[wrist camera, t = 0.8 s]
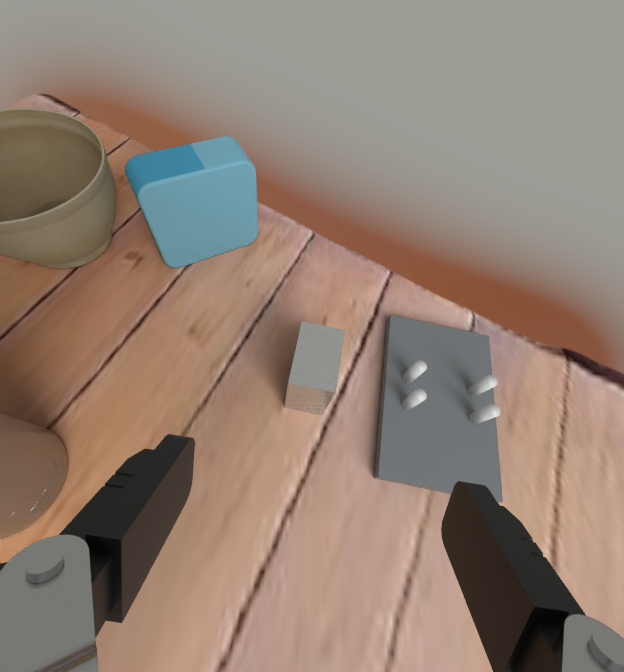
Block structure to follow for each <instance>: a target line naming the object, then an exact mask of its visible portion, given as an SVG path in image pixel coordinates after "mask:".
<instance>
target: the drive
mask: <svg viewBox="0 0 624 672" xmlns="http://www.w3.org/2000/svg"><path fill="white" fill-rule="evenodd" d="M344 332H345V330H341V329H337V328H332V327H327V326H323V325H318V324H313V323H308V322H304V321H302V323H301V327H300V332H299V336H298V340H297V345H296V349H295V354H294V358H293V363H292V367H291V372H290V376H289V381H288V387H287V394H286V400H285V407H284V408H288V409H293V410H298V411H303V412H308V413H312V414H317V415H323V413H324V411H325V410H326V408H327V406H328V404H329V403H330V401H331V399H332V398H333V396H334V394H335V393H336V386H337V379H338V373H339V366H340V359H341V352H342V346H343V339H344Z"/></svg>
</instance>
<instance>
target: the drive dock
mask: <svg viewBox="0 0 624 672" xmlns="http://www.w3.org/2000/svg"><path fill="white" fill-rule="evenodd" d="M496 385H497V379H496V378H495V377H494V376H492V368H491V356H490V344H489V336H487V335H482V334H477V333H473V332H468V331H463V330H459V329H454V328H449V327H445V326H440V325H435V324H430V323H426V322H421V321H416V320H412V319H407V318H402V317H398V316H393V315H391V316H390V317H389V319H388V320H387V326H386V338H385V350H384V363H383V375H382V387H381V399H380V412H379V424H378V436H377V448H376V461H375V473H374V478H376V479H381V480H386V481H391V482H396V483H401V484H406V485H410V486H415V487H420V488H425V489H430V490H435V491H440V492H445V493H450V494H452V491H453V488H454V485H455V483H456V482H458V481H462V482H468V483H475V484H481V485H485V486H486V487H487V488H488V489H489V490H490V492H491V493H492V495H493V496H494V498H495V499H496V501H497V502H503V499H502V487H501V475H500V463H499V451H498V439H497V428H496V417H497V416H499V415H500V409H499V407H498V406H497V405H495V404H494V392H493V387H495V386H496Z"/></svg>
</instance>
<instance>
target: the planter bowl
mask: <svg viewBox="0 0 624 672" xmlns="http://www.w3.org/2000/svg"><path fill="white" fill-rule="evenodd" d="M115 214H116V188H115V183H114V179H113V175H112V172H111V169H110V166H109V163H108V161H107V156H106V152H105V149H104V146H103V144H102V142H101V140H100V138H99V136H98V135H97V134H96V132H95V131H94V130H93V129H92V128H91V127H89V126H88V125H87V124H85V123H84V122H82V121H81V120H79V119H77V118H75V117H72V116H70V115H67V114H64V113H61V112H57V111H51V110H45V109H36V108H8V109H0V254H1V255H4V256H7V257H11V258H15V259H19V260H23V261H28V262H35V263H38V264H40V265H42V266H45V267H49V268H55V269H66V268H73V267H78V266H81V265H84V264H87V263H89V262H91V261H93V260H94V259H96V258H97V257H98V256H100V255H101V254H102V253H103V252H104V251H105V250H106V248H107V247H108V245H109V243H110V241H111V238H112V226H113V223H114V219H115Z"/></svg>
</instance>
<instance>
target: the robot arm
mask: <svg viewBox="0 0 624 672" xmlns="http://www.w3.org/2000/svg"><path fill="white" fill-rule="evenodd" d="M194 447H195V441H194V438H190V437H184V436H177V435H171V434H168V435H166V436H165V437H164V439H163V440H162V441H161V442H160V444H159V445H158V446H157V447H156V449H155V450H150V449H144V450H142V451H140V452H138V453H137V454H135V455H133V456H132V457H130V458H128V459H127V460H126V461H125V462H124V464H123V465H122V466H121V467H120V468H119V469H118V470H117V471H116V473H115V475H113V476H112V477H111V478H110V479H109V480H108V481H107V482H106V483H105V486H104V487H102V488H101V489H100V490H99V491H98V492H97V493H96V494H95V496H94V497H93V498H92V499H91V500H90V501H89V502H88V503H87V504H86V505H85V507H84V508H83V509H82V510H81V511H80V512H79V513H78V514H77V515H76V517H75V518H74V519H73V520H72V521H71V522H70V523H69V524H68V525H67V526H66V528H65V529H64V530H63V531H62V532H61V533H60V534H59V535H57V536H52V537H48V538H45V539H42V540H39V541H37V542H35V543H33V544H31V545H29V546H28V547H26V548H24V549H23V550H21V551H20V552H18V553H17V554H16V555H15V556H14V557H12V558H11V559H10V560H9V561H8V562H6V563H1V564H0V672H98V659H97V648H96V642H95V638H96V636H97V635H98V633H99V631H100V629H101V628H102V626H103V624H104V622H105V621H112V622H119V623H122V622H123V620H124V618H125V616H126V614H127V613H128V611H129V609H130V607H131V605H132V603H133V601H134V599H135V598H136V596H137V594H138V592H139V590H140V588H141V586H142V584H143V582H144V581H145V579H146V577H147V575H148V573H149V571H150V569H151V567H152V566H153V564H154V562H155V560H156V558H157V556H158V554H159V552H160V550H161V549H162V547H163V545H164V543H165V541H166V539H167V537H168V535H169V534H170V532H171V530H172V528H173V526H174V524H175V522H176V520H177V518H178V517H179V515H180V513H181V511H182V509H183V507H184V505H185V503H186V501H187V499H188V496H189V493H190V490H191V485H192V477H193V462H194ZM67 466H68V464H67V453H66V450H65V447H64V445H63V443H62V442H61V440H60V439H59V437H58V436H56V435H55V434H54V433H53V432H52V431H50V430H47V429H45V428H43V427H40V426H37V425H35V424H32V423H29V422H26V421H23V420H20V419H17V418H14V417H11V416H8V415H5V414H3V413H0V539H1V538H5V537H8V536H10V535H13V534H15V533H17V532H19V531H21V530H23V529H24V528H26V527H27V526H29V525H31V524H32V523H33V522H35V521H36V520H37V519H38V518H39V517H40V516H41V515H42V514H44V513H45V511H46V510H47V509H48V508H49V507H50V505H51V504H52V503H53V502H54V500H55V499H56V497H57V495H58V494H59V492H60V490H61V488H62V485H63V483H64V480H65V478H66V472H67ZM441 531H442V540H443V544H444V547H445V549H446V552H447V554H448V557H449V560H450V562H451V565H452V567H453V570H454V572H455V575H456V577H457V580H458V583H459V585H460V588H461V590H462V593H463V595H464V598H465V600H466V603H467V606H468V608H469V611H470V613H471V616H472V618H473V621H474V623H475V626H476V629H477V631H478V634H479V636H480V639H481V641H482V644H483V647H484V649H485V652H486V654H487V657H488V659H489V662H490V664H491V667H492V670H493V672H624V639H623V638H622V637H621V636H620V635H619V634H617V633H616V632H615V631H614V630H612V629H611V628H609V627H608V626H606V625H605V624H603V623H601V622H599V621H598V620H595V619H593V618H591V617H588V616H586V615H585V613H584V612H583V610H582V609H581V608H580V606H579V605H578V603H577V602H576V600H575V599H574V598H573V596H572V595H571V593H570V592H569V590H568V589H567V587H566V586H565V585H564V583H563V582H562V580H561V579H560V577H559V576H558V575H557V573H556V572H555V570H554V569H553V567H552V566H551V565H550V563H549V562H548V560H547V559H546V558H545V557H543V553H542V552H541V550H540V549H539V547H538V546H537V544H536V543H534V542H533V539H532V537H531V536H530V534H529V533H528V532H527V530H526V529H525V527H524V526H523V524H522V523H521V522H520V521H519V520H518V519H517V518H516V517H515V516H514V515H513V514H512V513H510V512H509V511H508V510H507V509H506V508H505V507H504V506H500V505H499V504H498V502H497V501H496V499H495V498H494V496H493V495H492V493H491V492H490V490H489V489H488V488H487V487H486V486H485V485H481V484H475V483H468V482H462V481H458V482H456V483H455V485H454V488H453V491H452V494H451V497H450V500H449V503H448V506H447V509H446V512H445V515H444V518H443V521H442V529H441Z"/></svg>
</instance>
